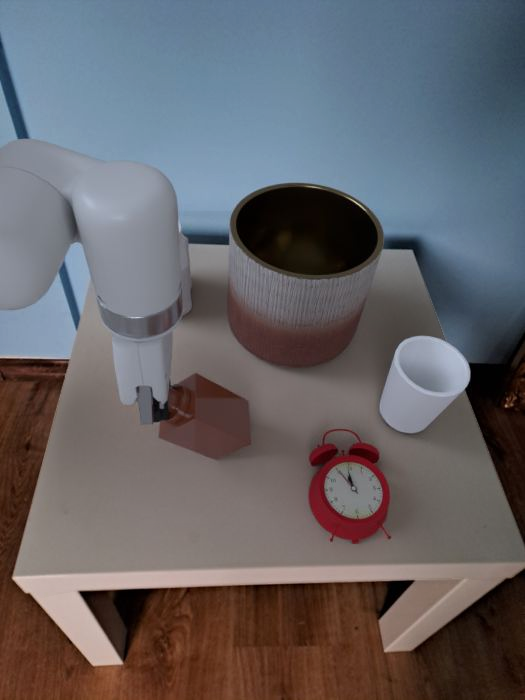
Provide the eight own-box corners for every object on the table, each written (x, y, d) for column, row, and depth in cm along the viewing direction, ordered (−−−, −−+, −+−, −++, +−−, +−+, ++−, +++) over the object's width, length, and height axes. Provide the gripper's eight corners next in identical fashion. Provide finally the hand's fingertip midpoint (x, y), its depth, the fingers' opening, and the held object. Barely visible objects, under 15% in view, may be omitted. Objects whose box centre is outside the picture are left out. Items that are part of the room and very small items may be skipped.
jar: (139, 275, 84) (124, 204, 72) (191, 274, 85) (186, 204, 73) (134, 322, 77) (118, 252, 65) (192, 320, 78) (185, 251, 66)
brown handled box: (215, 460, 63) (117, 422, 53) (215, 405, 68) (125, 361, 58) (251, 443, 60) (153, 400, 50) (248, 387, 65) (159, 337, 55)
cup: (378, 444, 66) (406, 397, 56) (363, 387, 72) (386, 335, 62) (444, 441, 67) (483, 394, 57) (424, 385, 73) (456, 334, 63)
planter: (227, 275, 85) (228, 178, 70) (344, 278, 87) (370, 183, 71) (226, 372, 72) (227, 278, 56) (364, 373, 74) (402, 282, 58)
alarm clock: (319, 544, 53) (308, 419, 60) (310, 546, 59) (301, 432, 65) (406, 540, 54) (385, 417, 61) (388, 542, 60) (372, 430, 66)
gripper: (110, 241, 47) (132, 350, 61) (83, 374, 37) (117, 467, 51) (185, 243, 48) (189, 351, 62) (178, 374, 38) (185, 466, 52)
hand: (156, 403), depth 56 cm, fingers closed on brown handled box, 3 cm apart
